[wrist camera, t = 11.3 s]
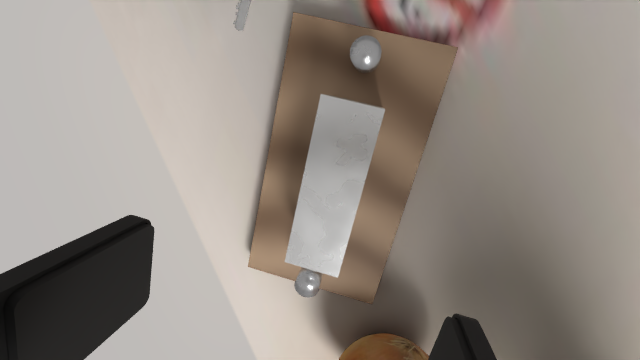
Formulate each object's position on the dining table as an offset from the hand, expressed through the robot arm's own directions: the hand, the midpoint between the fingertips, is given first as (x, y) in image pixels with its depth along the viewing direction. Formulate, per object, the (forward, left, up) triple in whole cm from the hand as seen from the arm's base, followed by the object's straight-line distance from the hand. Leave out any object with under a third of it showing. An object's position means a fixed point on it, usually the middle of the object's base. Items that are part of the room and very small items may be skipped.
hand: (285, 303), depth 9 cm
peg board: (0, 0, -18) cm, 18 cm away
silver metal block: (0, 0, -16) cm, 16 cm away
